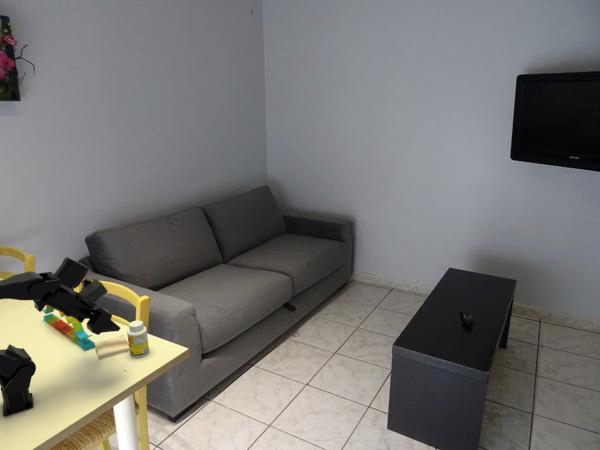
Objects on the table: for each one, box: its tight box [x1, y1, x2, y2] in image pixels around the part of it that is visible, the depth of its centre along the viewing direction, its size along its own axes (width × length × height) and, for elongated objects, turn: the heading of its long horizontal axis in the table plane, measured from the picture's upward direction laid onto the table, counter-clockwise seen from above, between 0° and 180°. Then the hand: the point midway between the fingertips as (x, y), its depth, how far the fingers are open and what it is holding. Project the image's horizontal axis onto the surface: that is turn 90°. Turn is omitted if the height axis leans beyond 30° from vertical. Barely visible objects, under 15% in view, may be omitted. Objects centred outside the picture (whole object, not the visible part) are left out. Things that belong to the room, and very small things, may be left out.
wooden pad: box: [94, 334, 130, 360], centre depth 140 cm, size 9×9×1 cm
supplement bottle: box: [127, 319, 150, 358], centre depth 136 cm, size 6×6×10 cm
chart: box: [41, 306, 96, 352], centre depth 147 cm, size 30×3×15 cm, turn 51°
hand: (112, 323), depth 129 cm, fingers open, 9 cm apart
